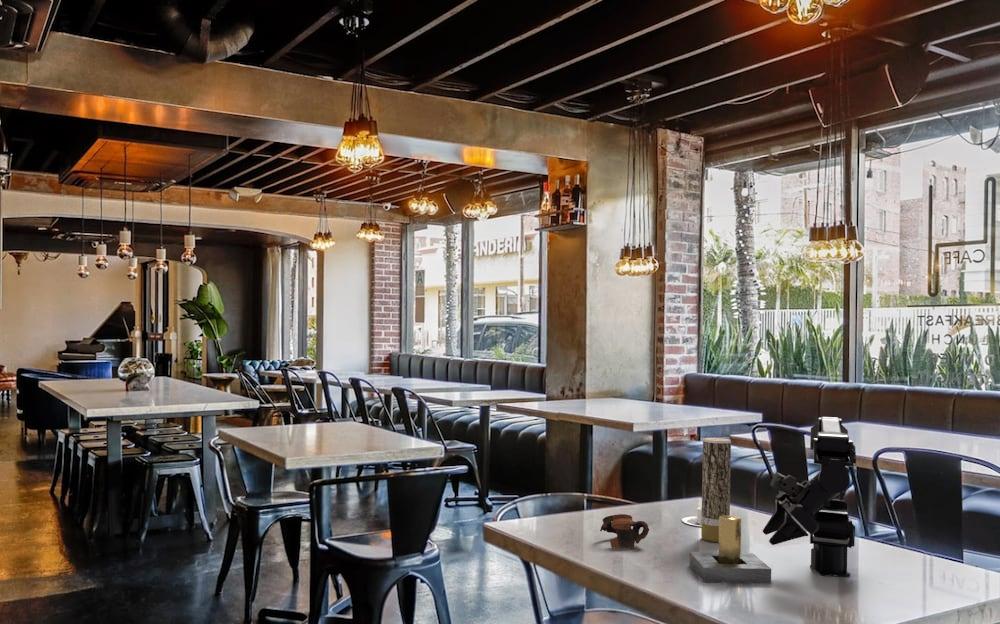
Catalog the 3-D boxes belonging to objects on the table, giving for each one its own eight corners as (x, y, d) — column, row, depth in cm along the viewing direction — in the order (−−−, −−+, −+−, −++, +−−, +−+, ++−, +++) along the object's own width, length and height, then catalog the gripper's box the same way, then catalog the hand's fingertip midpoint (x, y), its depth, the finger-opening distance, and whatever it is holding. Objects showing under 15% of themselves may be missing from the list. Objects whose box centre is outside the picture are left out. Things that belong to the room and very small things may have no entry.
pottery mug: (598, 549, 195) (594, 515, 199) (609, 558, 202) (605, 525, 207) (648, 542, 191) (643, 507, 195) (657, 551, 199) (651, 518, 203)
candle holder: (673, 520, 227) (673, 504, 227) (711, 518, 230) (711, 502, 230) (696, 530, 215) (697, 514, 215) (736, 528, 219) (736, 512, 219)
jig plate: (752, 566, 182) (752, 553, 182) (771, 583, 170) (771, 568, 170) (689, 565, 182) (689, 551, 182) (703, 582, 170) (704, 567, 170)
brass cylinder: (736, 571, 178) (737, 515, 178) (743, 577, 173) (744, 520, 174) (715, 570, 178) (716, 515, 178) (721, 577, 173) (722, 520, 174)
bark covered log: (726, 536, 208) (728, 438, 208) (731, 543, 201) (733, 441, 201) (699, 535, 208) (701, 437, 209) (703, 542, 202) (705, 440, 202)
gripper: (786, 454, 184) (735, 501, 185) (802, 467, 165) (745, 518, 167) (823, 491, 182) (770, 538, 184) (843, 508, 164) (785, 560, 165)
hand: (767, 538), depth 175 cm, fingers open, 9 cm apart
